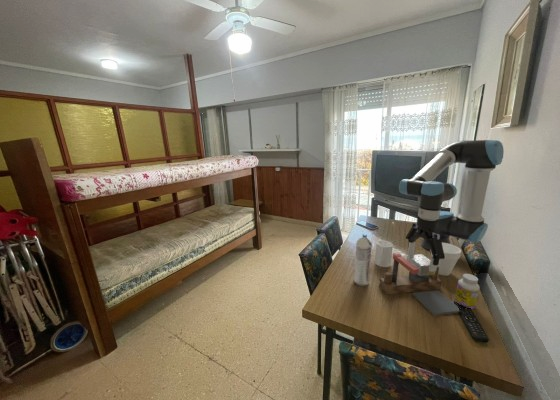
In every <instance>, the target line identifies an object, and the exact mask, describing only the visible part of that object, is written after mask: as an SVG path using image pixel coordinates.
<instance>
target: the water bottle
mask: <svg viewBox="0 0 560 400" xmlns="http://www.w3.org/2000/svg"><path fill="white" fill-rule="evenodd" d="M355 245H356V247H355V258H354V259H355V260H354V271H353V272H354V275H353V280H354V282H355V284H357V285H359V286H361V287H362V286H363V287H365V286H368V285H369V283H370V272H371V263H372V261H371V260H372V259H371V257H372V247H373V243H372V241H371V240H370V238H368V235H367V234H366V233H362V237H360V238H358V240H357V241H356V242H355Z"/></svg>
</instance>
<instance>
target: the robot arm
mask: <svg viewBox="0 0 560 400" xmlns="http://www.w3.org/2000/svg"><path fill="white" fill-rule="evenodd" d="M503 145H504V144H503V142H502V141H500V140H496V139H494V140H493V139H482V140H481V139H480V140H475V139H474V140H458V141H455V142H452V143H450V144H448V145H445V146H444V147H442V148H441V149H440V150H438V151H437V152H436V153H435V155H434V157H433V159H431V160H430V161H429V162H428V163H427V164H426V165H424V166H423V168H421V169H420V170H419V171H418V172H417V173H416V174H415V175H413V176H412V177H411V178H410V179H408V178H405V179H401V180H400V182H399V184H398V191H399V193H400V194H403V195H406V196H411V197H417V198H419V205H418V212H417V213H418V214H417V216H418V217H417V219H416V222H415V223H412V226H411V228H410V229H409V231H408V233H407V234H406V236H405V239H406V240H407V241H408V242H407V243H408V245H407V246H408V248H407V249H408V250H407V256H408V255H415V248H416V241H417V240H418V239H419V238H421V239H422V240H421V247H422V248H423V249H425V250H428V251H430V250H431V251H430V254H431V253H432V255H433V257H432V255H431V256H430V260H431V261H430V266H429V271H430V272H431V271H436V269H437V265H438V264H439V259H445V256H444V251H443V246H442V243H448V244H451V240H450V237H453V238H456V239H460V240H462V241H463V240H464V241H466V242H470V243H475V244H476V243H479V242H480V241H481V240H482V239H483V238H484V236H485V235H486V233H487V230H488V228H489V224H488V223H487V222H485V218H484V217H483V215H482V213H483V209H484V204H485V200H486V196H487V195H486V194H487V190H488V185H489V180H490V175H491V171H494V170H495V169H496V167H497V166H498V165H499V166H500V165H501V163H502V162H503V159H504V153H505V152H504V151H505V150H504V146H503ZM455 163H456V164H457V163H458V164H459V163H461V164H465V165H464V167H465V169H466V170H467V174H466V180H465V181H466V182H465V187H464V191H463V197H462V203H461V207H460V213H458V214H456V216H455V215H454V212H451V211H445V210H441V207H442V203H443V202H447V201H450V200H452V199H453V198H455V197H456V195H457V193H458V190H457V187H456V186H455V185H454V184H452V183H449V182H441V181H434V180H435V179H436V178H437V177H438V176H439V175H440V174H441V173H442V172H443V171H444V170H445V169H446V168H447V167H449V166H452V165H453V164H455Z"/></svg>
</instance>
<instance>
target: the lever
mask: <svg viewBox="0 0 560 400" xmlns="http://www.w3.org/2000/svg"><path fill="white" fill-rule="evenodd" d="M392 259H393V261H394V260H396V261H397V262H398V263H399V265H401V266H402V267H403V268H405V269H406V270H407V271H408V272H409V271H410V272H411V273H412V274H417V273H419V269H418V268H417V267H416V266H414V265H413V264H412V263H410V262H409V261H407V259H406V258H405V257H403V256H402V254H400V253H396V252H395V253H392Z"/></svg>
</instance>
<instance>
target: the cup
mask: <svg viewBox="0 0 560 400" xmlns="http://www.w3.org/2000/svg"><path fill="white" fill-rule="evenodd" d="M442 246H443V251H444V256H445V259H439V264H438V265H437V266H438V267H439V271H438V275H441V276H450V275H451V274H452V273H451V272H452V271H453V269H454V267H455V266H456V264H457V262H458V260H459V259H460V258H461V256H462V249H461V248H460V247H458V246H456V245H455V244H451V243H450V244H448V243H442ZM429 251H430V254H431V257H433V255H432V253H431V250H429Z"/></svg>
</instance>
